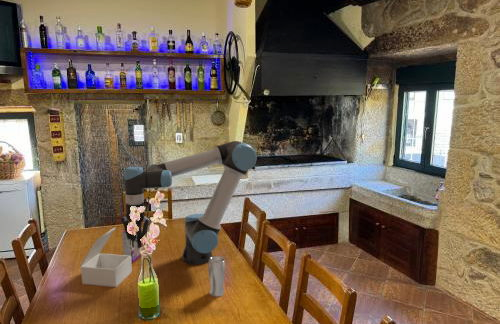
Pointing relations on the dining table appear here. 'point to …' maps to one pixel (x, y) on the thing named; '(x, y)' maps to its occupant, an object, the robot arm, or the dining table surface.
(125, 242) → the candy bar box
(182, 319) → the dining table surface
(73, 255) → the dining table surface
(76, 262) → the dining table surface
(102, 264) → the mailer box
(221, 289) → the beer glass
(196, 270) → the dining table surface
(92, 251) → the mailer lid
